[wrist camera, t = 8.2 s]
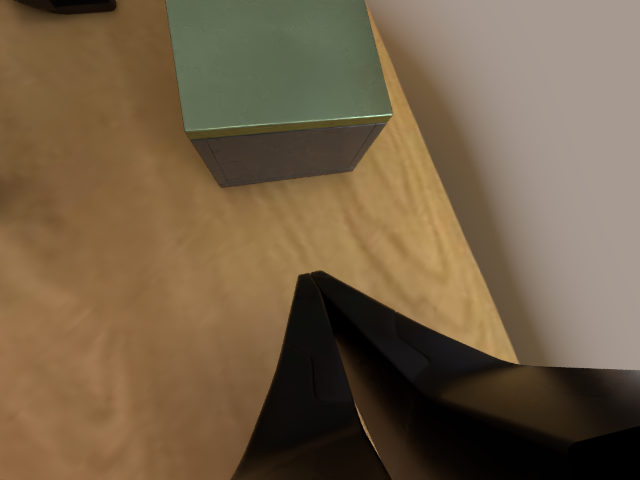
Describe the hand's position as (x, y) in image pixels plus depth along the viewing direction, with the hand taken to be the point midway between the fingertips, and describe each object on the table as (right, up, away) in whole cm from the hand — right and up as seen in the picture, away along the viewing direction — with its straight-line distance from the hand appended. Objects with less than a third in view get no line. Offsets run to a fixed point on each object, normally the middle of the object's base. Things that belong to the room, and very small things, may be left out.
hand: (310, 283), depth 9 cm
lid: (-2, +14, +6) cm, 15 cm away
